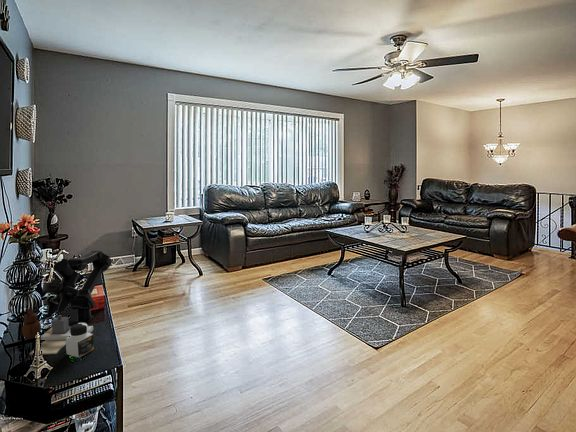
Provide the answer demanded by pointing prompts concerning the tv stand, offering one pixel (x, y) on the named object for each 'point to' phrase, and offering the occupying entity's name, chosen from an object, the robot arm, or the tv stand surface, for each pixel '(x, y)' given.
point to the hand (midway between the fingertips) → (53, 314)
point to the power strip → (59, 335)
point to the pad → (51, 347)
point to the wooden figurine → (30, 325)
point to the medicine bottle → (79, 340)
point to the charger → (60, 325)
